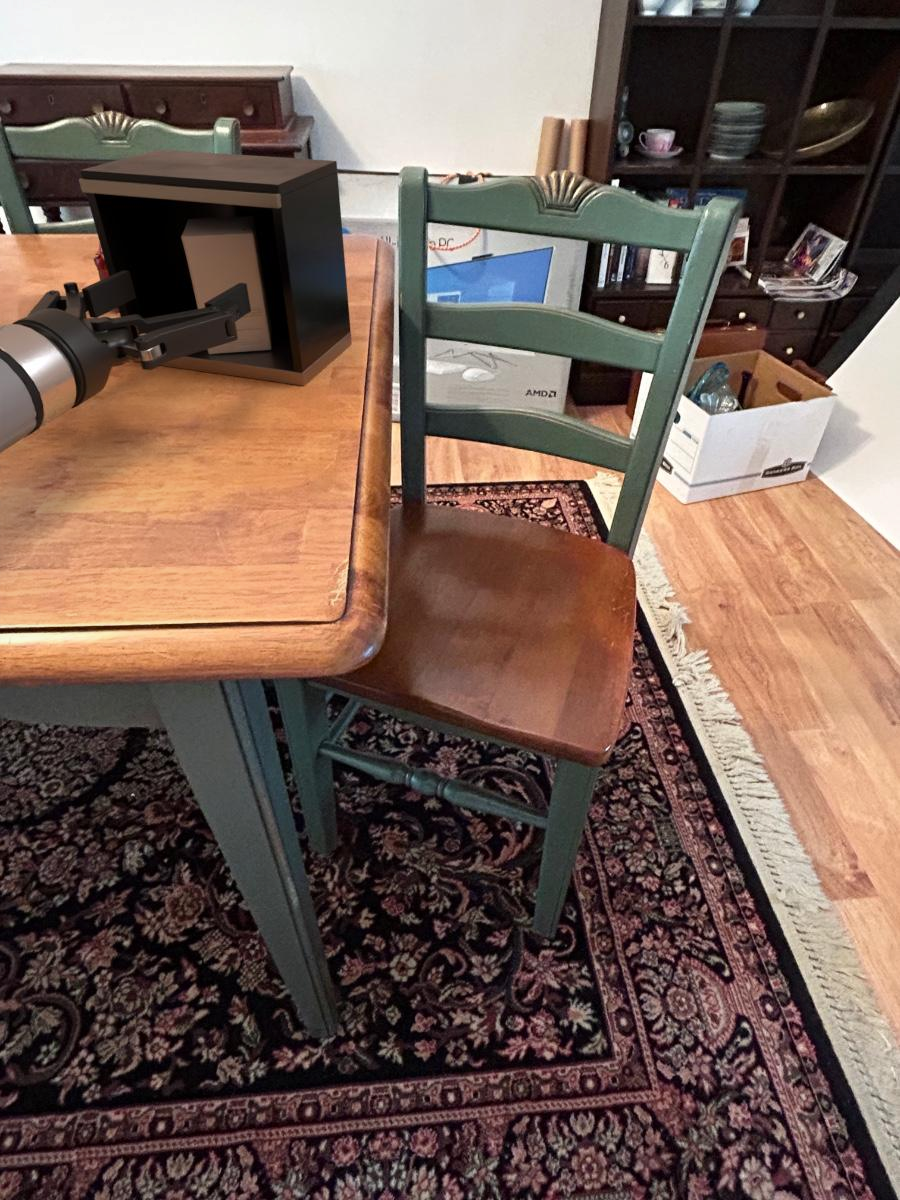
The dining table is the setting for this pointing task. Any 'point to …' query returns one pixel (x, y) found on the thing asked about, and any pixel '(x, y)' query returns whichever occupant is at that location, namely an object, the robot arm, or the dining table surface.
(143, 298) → the open cubby shelf
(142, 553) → the dining table surface
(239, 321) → the white packaging box
